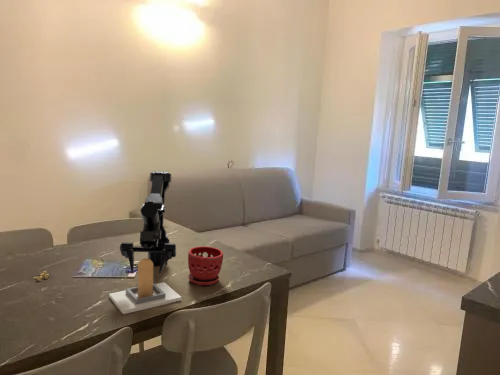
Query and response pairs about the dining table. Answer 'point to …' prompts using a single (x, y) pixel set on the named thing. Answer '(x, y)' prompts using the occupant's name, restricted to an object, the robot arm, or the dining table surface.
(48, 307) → the dining table surface
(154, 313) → the dining table surface
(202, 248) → the plant pot
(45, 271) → the yellow knobbed cluster
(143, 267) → the orange domed cylinder
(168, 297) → the plate
